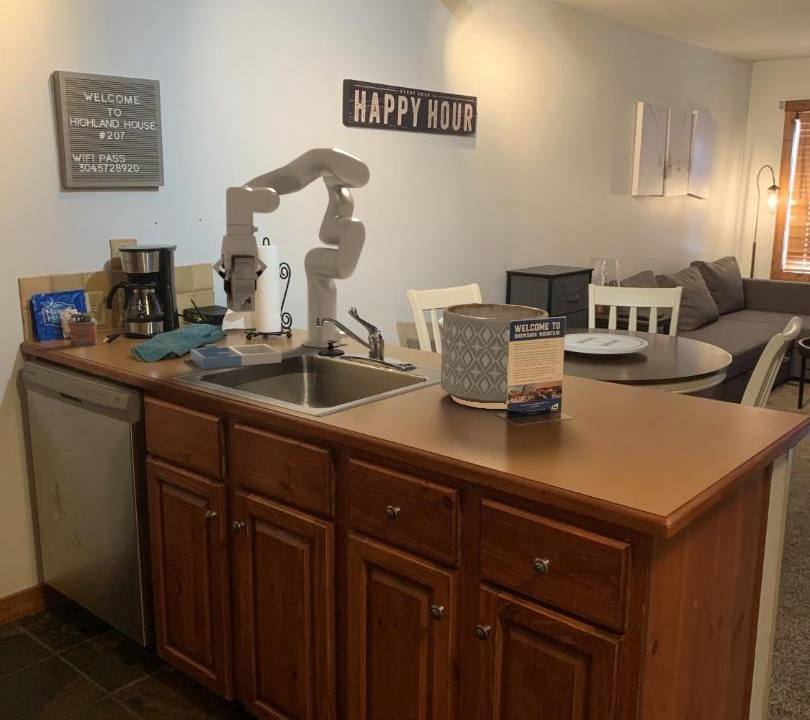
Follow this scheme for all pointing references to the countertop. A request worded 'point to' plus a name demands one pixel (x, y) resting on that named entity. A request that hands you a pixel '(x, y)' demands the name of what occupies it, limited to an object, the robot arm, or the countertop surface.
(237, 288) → the coffee box
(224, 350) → the blue and white tray
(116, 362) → the countertop surface
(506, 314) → the planter
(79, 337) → the lighter
